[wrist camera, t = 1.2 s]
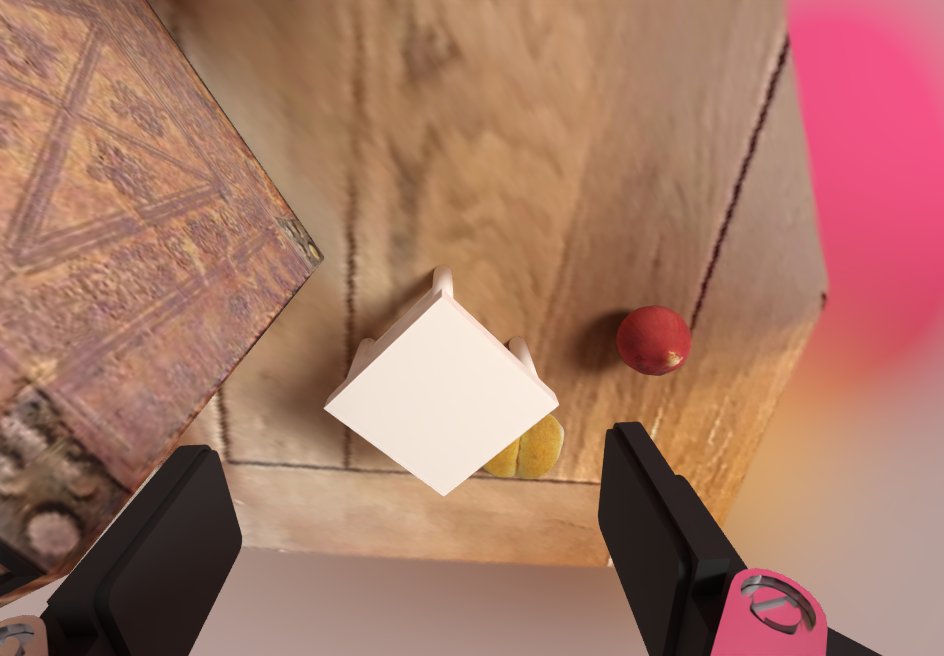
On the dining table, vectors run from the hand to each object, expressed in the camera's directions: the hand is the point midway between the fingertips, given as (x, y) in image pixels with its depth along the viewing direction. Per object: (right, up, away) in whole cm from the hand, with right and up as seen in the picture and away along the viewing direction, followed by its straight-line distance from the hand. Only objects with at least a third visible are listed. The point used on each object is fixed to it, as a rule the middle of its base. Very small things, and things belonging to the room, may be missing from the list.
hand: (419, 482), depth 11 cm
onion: (+16, +4, +32) cm, 36 cm away
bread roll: (+6, -7, +37) cm, 38 cm away
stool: (-1, +2, +32) cm, 32 cm away
